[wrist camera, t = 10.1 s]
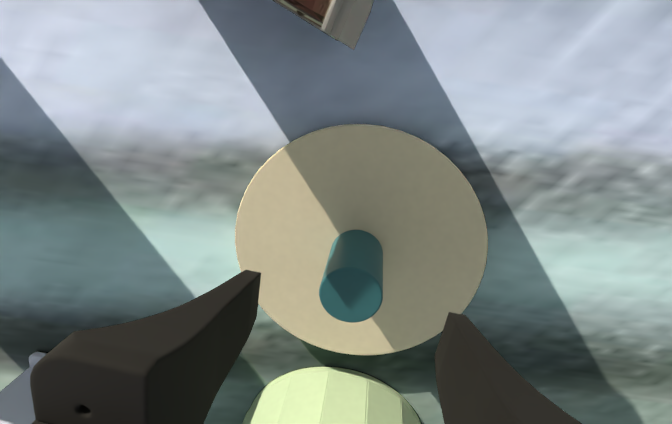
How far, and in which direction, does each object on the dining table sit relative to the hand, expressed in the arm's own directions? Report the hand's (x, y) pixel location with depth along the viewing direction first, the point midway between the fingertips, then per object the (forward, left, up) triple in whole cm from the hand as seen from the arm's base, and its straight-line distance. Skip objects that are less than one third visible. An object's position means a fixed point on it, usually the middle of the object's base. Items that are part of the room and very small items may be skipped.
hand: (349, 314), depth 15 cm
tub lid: (0, 0, -6) cm, 6 cm away
